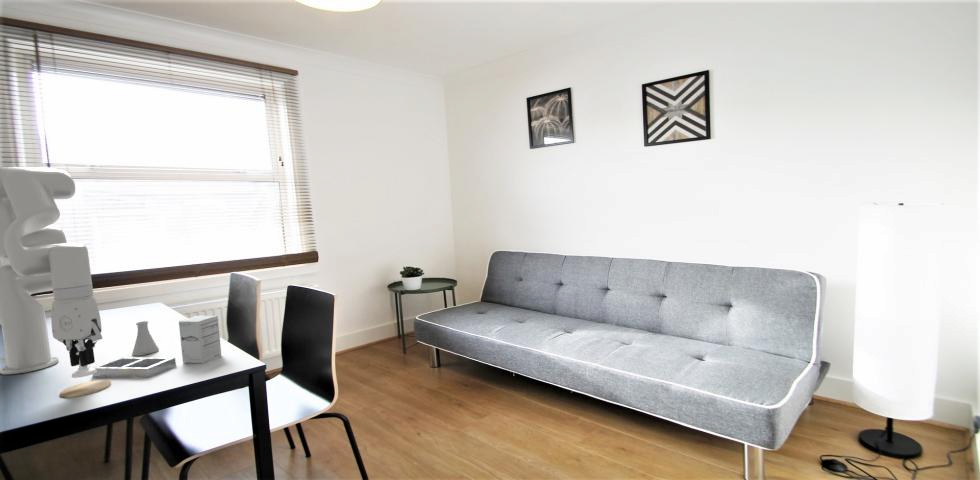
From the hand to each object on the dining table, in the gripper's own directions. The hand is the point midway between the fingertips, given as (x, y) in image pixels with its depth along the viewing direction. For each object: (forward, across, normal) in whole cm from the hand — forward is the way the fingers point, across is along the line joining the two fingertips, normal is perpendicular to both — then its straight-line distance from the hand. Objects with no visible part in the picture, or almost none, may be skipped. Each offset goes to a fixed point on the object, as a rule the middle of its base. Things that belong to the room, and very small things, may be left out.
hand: (83, 364), depth 121 cm
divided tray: (+7, +1, +13) cm, 15 cm away
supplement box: (+7, +14, +23) cm, 28 cm away
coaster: (+7, 0, 0) cm, 7 cm away
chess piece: (+3, 0, 0) cm, 3 cm away
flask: (+7, -12, +29) cm, 32 cm away
